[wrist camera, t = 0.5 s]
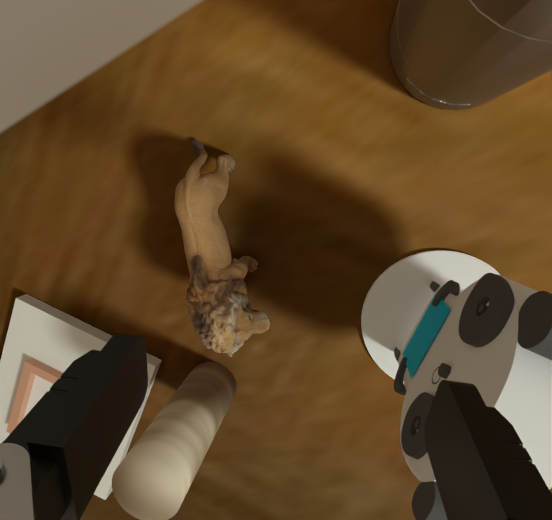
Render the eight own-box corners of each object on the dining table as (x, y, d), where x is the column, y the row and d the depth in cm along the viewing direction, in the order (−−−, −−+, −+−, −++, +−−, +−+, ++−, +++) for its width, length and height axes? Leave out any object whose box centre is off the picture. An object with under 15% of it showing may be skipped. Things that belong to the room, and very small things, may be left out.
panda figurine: (405, 217, 29) (468, 261, 14) (553, 280, 28) (777, 394, 13) (337, 351, 32) (333, 500, 17) (468, 411, 31) (577, 618, 17)
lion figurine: (289, 306, 32) (268, 355, 23) (230, 322, 33) (189, 375, 24) (226, 129, 30) (177, 110, 21) (165, 153, 31) (96, 146, 22)
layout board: (26, 293, 36) (8, 300, 34) (161, 360, 35) (151, 371, 33) (-8, 428, 40) (-26, 441, 38) (112, 490, 39) (100, 506, 37)
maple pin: (198, 353, 34) (123, 445, 22) (243, 375, 34) (191, 480, 22) (181, 393, 35) (103, 500, 24) (225, 414, 35) (167, 534, 23)
